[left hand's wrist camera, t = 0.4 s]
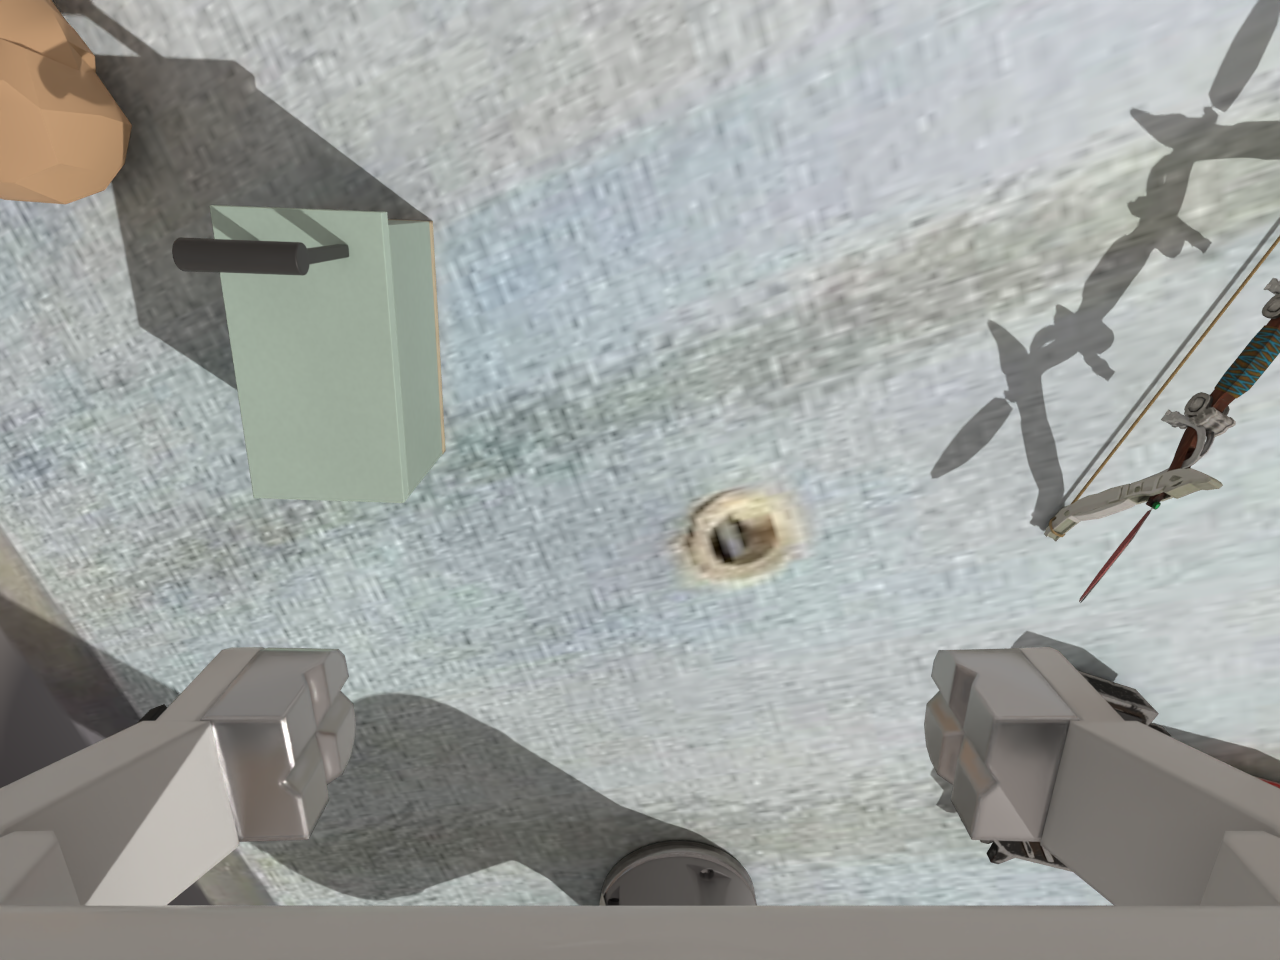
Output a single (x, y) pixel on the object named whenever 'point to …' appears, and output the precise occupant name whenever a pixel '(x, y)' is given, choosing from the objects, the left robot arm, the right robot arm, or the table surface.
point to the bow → (1201, 422)
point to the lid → (311, 348)
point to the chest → (417, 344)
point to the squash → (53, 110)
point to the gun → (1129, 709)
